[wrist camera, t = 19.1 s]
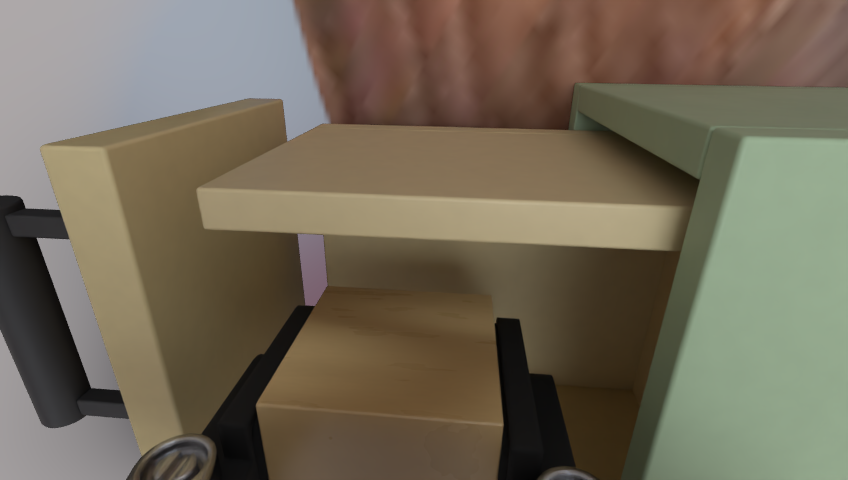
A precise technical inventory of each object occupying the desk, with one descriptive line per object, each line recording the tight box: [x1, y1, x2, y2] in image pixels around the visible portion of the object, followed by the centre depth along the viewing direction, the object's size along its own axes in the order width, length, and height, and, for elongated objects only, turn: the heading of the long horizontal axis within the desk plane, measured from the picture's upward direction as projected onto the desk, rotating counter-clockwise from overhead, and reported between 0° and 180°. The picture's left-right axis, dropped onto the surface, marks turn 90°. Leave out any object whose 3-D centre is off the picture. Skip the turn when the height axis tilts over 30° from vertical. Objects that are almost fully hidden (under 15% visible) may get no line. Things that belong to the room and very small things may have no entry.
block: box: [256, 286, 504, 480], centre depth 10 cm, size 4×4×4 cm
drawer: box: [0, 98, 700, 480], centre depth 13 cm, size 20×11×8 cm, turn 89°
